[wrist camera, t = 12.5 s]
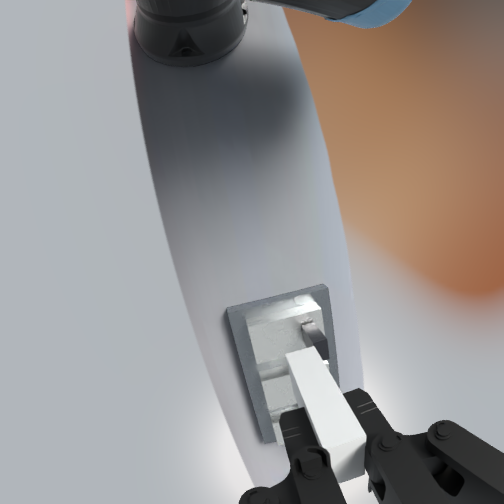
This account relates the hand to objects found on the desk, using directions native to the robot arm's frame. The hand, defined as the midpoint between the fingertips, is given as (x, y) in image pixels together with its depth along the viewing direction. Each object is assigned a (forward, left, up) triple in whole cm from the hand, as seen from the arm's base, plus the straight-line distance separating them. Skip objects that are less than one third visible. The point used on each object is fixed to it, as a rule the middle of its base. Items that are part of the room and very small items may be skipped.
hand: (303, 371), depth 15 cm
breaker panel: (+7, +15, -24) cm, 29 cm away
